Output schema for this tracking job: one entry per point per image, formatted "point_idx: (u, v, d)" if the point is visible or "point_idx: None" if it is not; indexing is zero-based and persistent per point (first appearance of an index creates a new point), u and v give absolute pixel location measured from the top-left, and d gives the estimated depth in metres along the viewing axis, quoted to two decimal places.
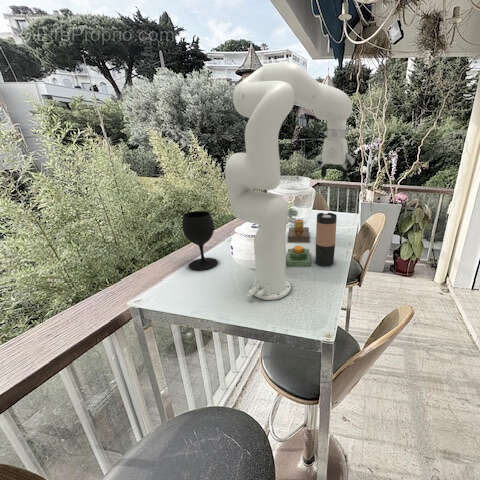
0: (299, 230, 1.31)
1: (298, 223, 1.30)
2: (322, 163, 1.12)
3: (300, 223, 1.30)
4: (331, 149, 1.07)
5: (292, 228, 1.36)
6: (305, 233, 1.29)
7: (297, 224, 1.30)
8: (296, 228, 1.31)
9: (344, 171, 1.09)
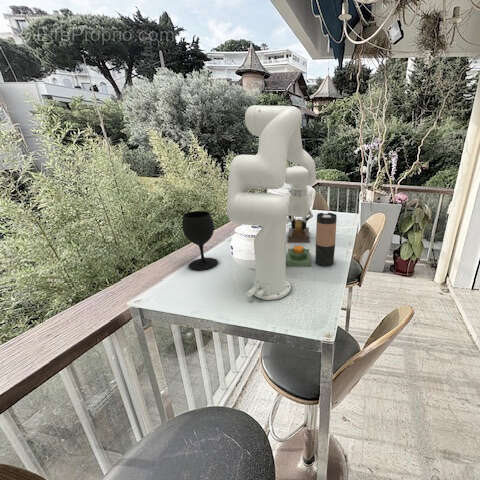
0: (299, 230, 1.31)
1: (298, 223, 1.30)
2: (292, 218, 1.31)
3: (300, 223, 1.30)
4: (296, 205, 1.26)
5: None
6: (305, 233, 1.29)
7: (297, 224, 1.30)
8: (296, 228, 1.31)
9: (303, 223, 1.31)
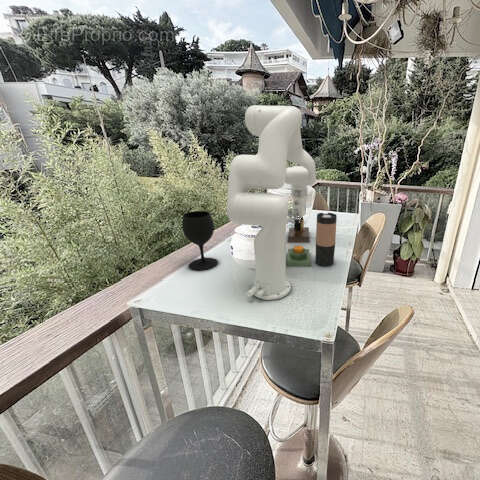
0: None
1: None
2: (300, 219, 1.28)
3: None
4: (304, 204, 1.28)
5: (292, 228, 1.36)
6: (305, 233, 1.29)
7: None
8: (302, 228, 1.32)
9: None
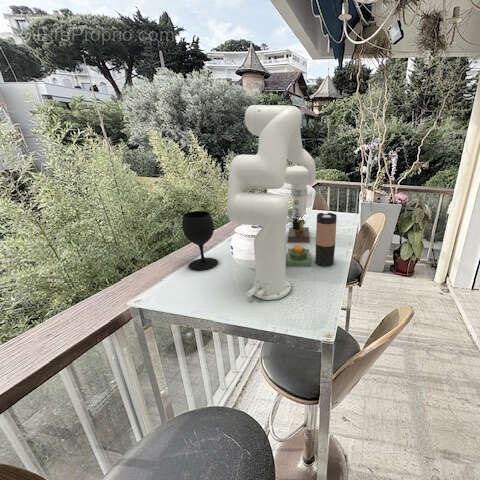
0: None
1: None
2: (298, 218, 1.26)
3: None
4: (304, 204, 1.28)
5: (292, 228, 1.36)
6: (305, 233, 1.29)
7: None
8: (302, 228, 1.32)
9: None
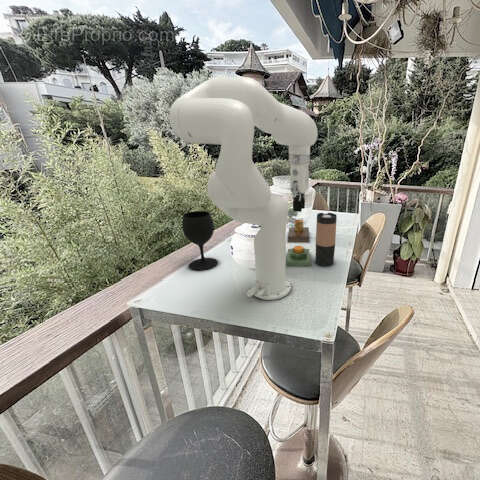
0: None
1: None
2: (300, 196, 0.97)
3: None
4: (306, 176, 0.96)
5: (292, 228, 1.36)
6: (305, 233, 1.29)
7: None
8: (302, 228, 1.32)
9: None
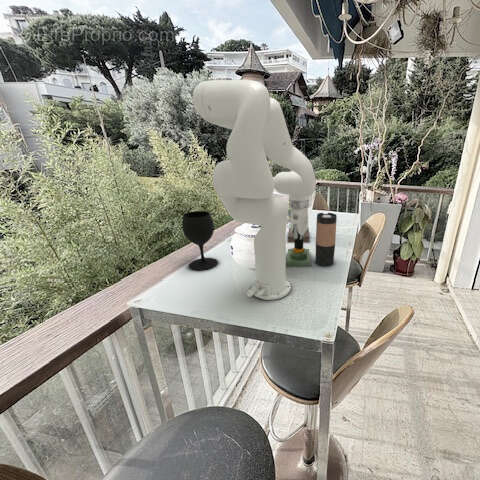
0: None
1: None
2: (301, 235, 1.04)
3: None
4: (305, 218, 1.02)
5: None
6: (305, 233, 1.29)
7: None
8: None
9: None
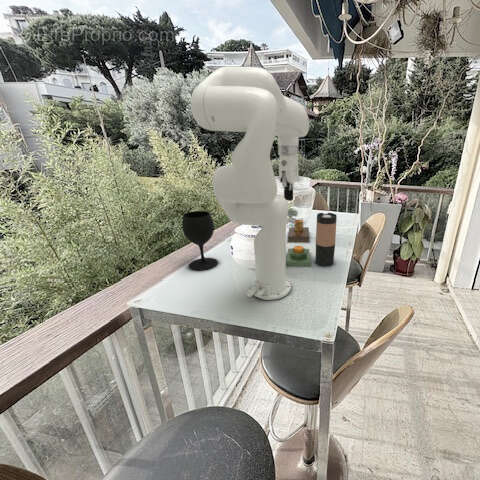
0: None
1: None
2: (291, 185, 1.02)
3: None
4: (295, 166, 0.99)
5: (292, 228, 1.36)
6: (305, 233, 1.29)
7: None
8: (302, 228, 1.32)
9: None
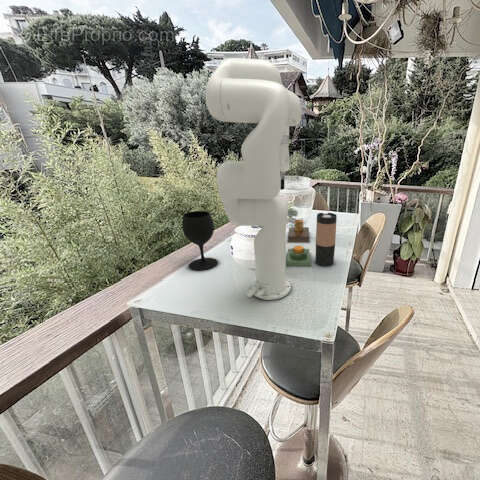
0: None
1: None
2: (282, 175, 1.04)
3: None
4: (285, 156, 1.02)
5: (292, 228, 1.36)
6: (305, 233, 1.29)
7: None
8: (302, 228, 1.32)
9: None
